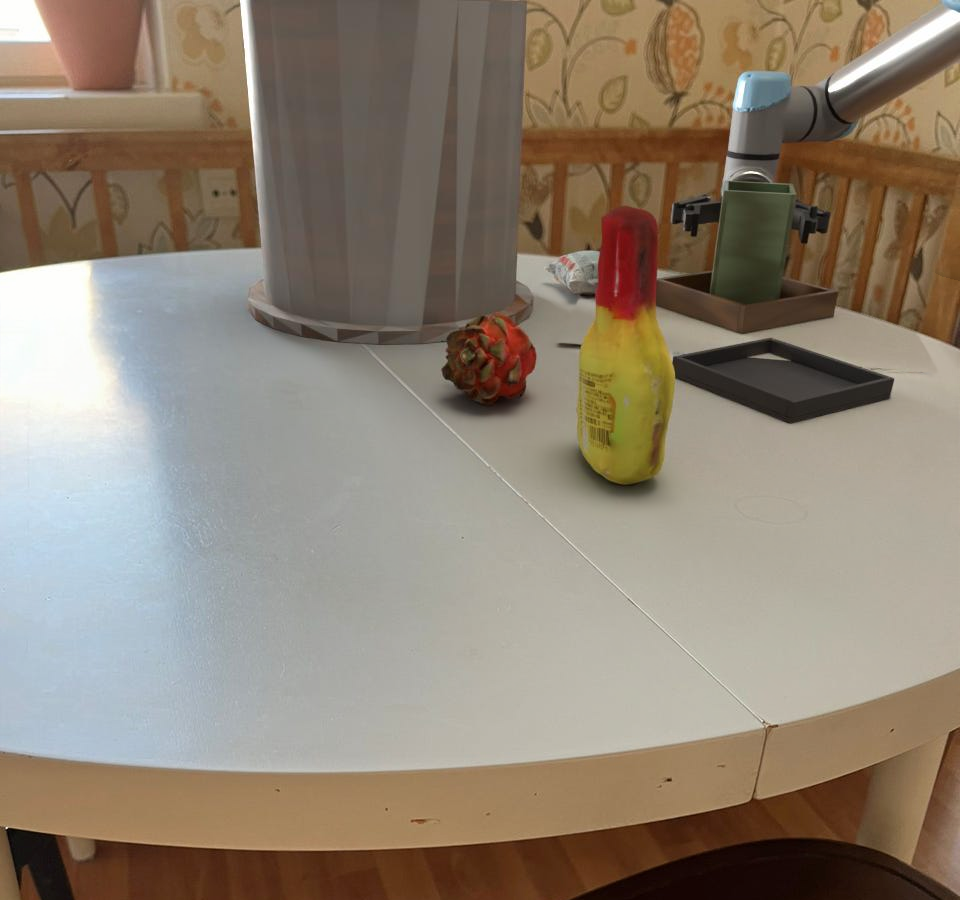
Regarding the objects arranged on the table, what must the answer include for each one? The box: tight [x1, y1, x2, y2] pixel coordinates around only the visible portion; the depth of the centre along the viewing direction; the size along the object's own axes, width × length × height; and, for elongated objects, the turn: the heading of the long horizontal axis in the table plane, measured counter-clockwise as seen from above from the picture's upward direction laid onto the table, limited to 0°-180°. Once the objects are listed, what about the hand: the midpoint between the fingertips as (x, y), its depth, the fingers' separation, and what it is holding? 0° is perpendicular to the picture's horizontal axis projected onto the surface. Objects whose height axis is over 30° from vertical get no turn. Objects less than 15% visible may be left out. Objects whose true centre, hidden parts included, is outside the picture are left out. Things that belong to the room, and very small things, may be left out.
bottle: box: [576, 205, 676, 486], centre depth 81 cm, size 12×6×20 cm, turn 13°
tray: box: [671, 337, 895, 424], centre depth 104 cm, size 16×14×2 cm
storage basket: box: [240, 0, 534, 345], centre depth 121 cm, size 35×35×32 cm
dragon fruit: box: [440, 313, 537, 406], centre depth 99 cm, size 8×8×12 cm
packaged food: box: [544, 250, 600, 296], centre depth 135 cm, size 9×12×5 cm
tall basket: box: [709, 180, 797, 305], centre depth 125 cm, size 8×8×14 cm
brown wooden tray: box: [656, 269, 839, 335], centre depth 128 cm, size 16×16×4 cm
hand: (750, 228), depth 130 cm, fingers open, 13 cm apart
